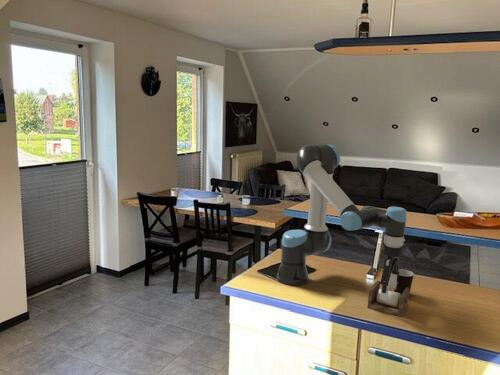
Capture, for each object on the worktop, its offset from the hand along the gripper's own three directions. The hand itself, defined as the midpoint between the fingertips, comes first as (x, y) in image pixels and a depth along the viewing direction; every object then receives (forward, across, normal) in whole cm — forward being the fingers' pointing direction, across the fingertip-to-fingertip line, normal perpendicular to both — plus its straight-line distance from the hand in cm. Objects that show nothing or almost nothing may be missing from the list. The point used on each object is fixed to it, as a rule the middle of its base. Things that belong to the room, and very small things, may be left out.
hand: (388, 294), depth 174 cm
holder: (+5, 0, 0) cm, 6 cm away
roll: (+4, -1, 0) cm, 5 cm away
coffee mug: (+6, +19, -2) cm, 20 cm away
